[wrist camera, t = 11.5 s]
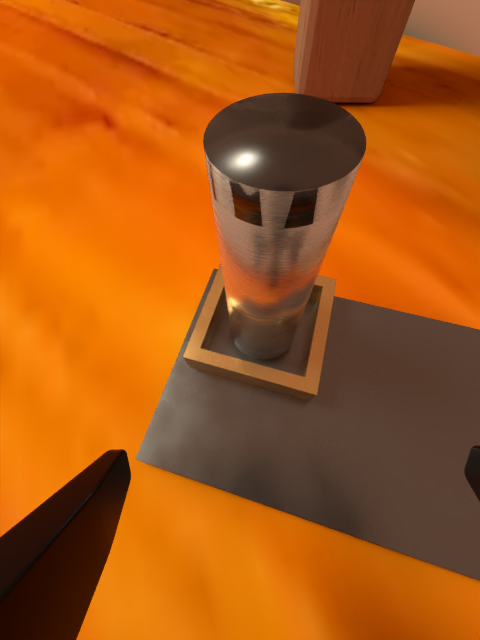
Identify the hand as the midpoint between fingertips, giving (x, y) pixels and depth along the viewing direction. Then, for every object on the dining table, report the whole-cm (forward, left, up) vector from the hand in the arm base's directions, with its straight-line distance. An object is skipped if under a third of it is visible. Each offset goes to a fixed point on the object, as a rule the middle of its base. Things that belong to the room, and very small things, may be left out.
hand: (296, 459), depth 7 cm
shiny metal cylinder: (+8, +2, -9) cm, 12 cm away
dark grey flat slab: (+5, -3, -10) cm, 12 cm away
